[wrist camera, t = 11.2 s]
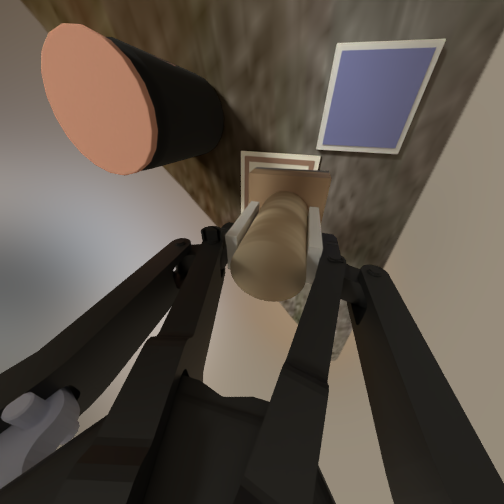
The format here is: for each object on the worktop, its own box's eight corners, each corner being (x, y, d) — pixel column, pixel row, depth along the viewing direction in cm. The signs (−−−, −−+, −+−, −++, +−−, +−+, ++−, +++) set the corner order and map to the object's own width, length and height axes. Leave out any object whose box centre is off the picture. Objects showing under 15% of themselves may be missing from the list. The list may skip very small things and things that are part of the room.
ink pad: (316, 148, 29) (316, 149, 28) (336, 46, 23) (337, 42, 22) (394, 153, 27) (398, 154, 26) (440, 42, 21) (448, 37, 20)
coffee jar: (207, 57, 27) (86, -21, 12) (236, 139, 31) (174, 153, 17) (154, 95, 31) (18, 70, 16) (187, 162, 36) (104, 188, 21)
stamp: (255, 228, 23) (215, 303, 13) (256, 166, 19) (201, 210, 10) (314, 235, 22) (317, 325, 12) (328, 171, 18) (350, 227, 8)
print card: (241, 220, 40) (241, 221, 39) (241, 150, 32) (240, 151, 32) (305, 229, 37) (304, 230, 37) (320, 155, 30) (320, 156, 29)
